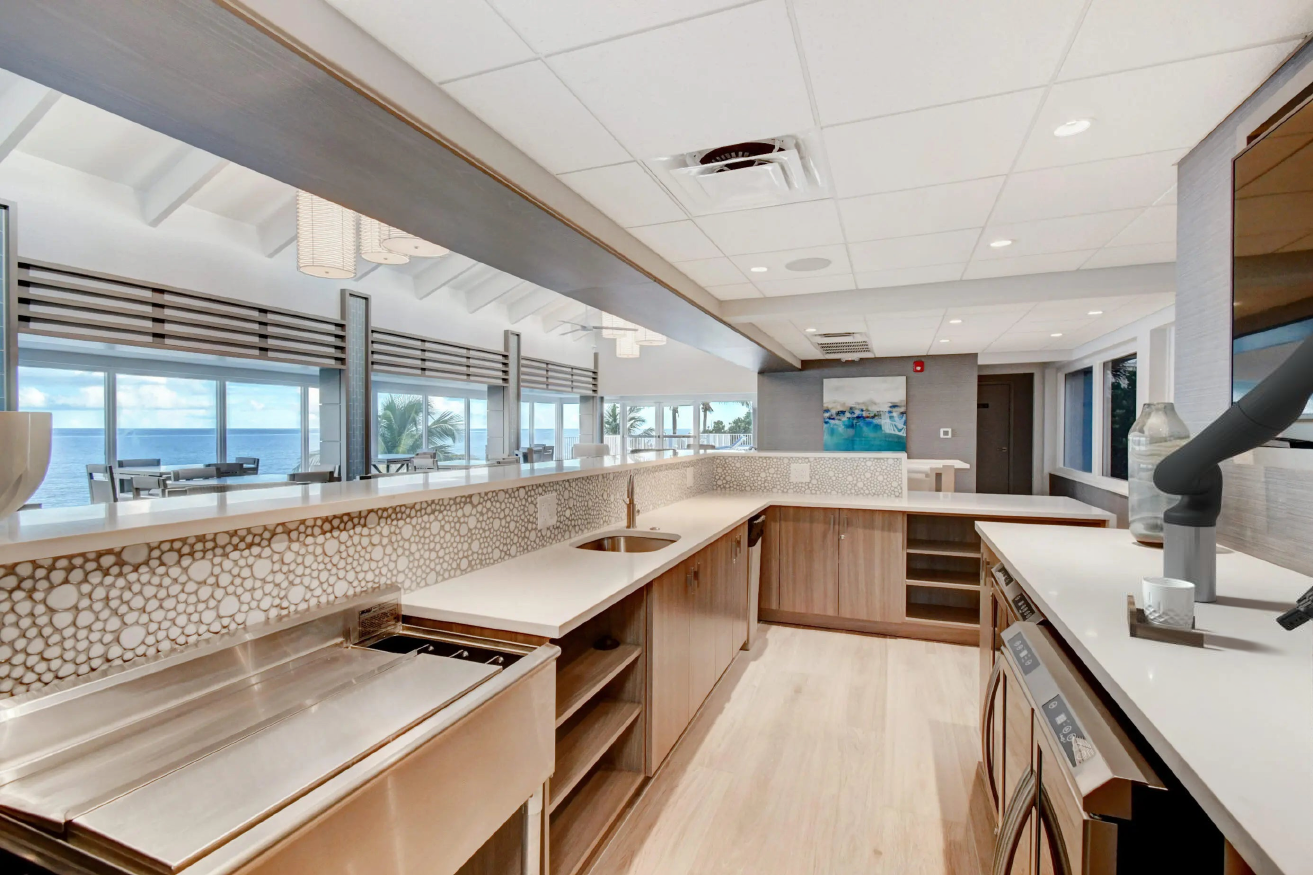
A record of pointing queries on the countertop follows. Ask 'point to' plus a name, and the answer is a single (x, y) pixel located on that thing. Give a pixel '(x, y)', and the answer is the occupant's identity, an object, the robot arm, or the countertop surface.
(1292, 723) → the countertop surface
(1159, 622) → the white cup
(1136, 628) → the walnut bay
